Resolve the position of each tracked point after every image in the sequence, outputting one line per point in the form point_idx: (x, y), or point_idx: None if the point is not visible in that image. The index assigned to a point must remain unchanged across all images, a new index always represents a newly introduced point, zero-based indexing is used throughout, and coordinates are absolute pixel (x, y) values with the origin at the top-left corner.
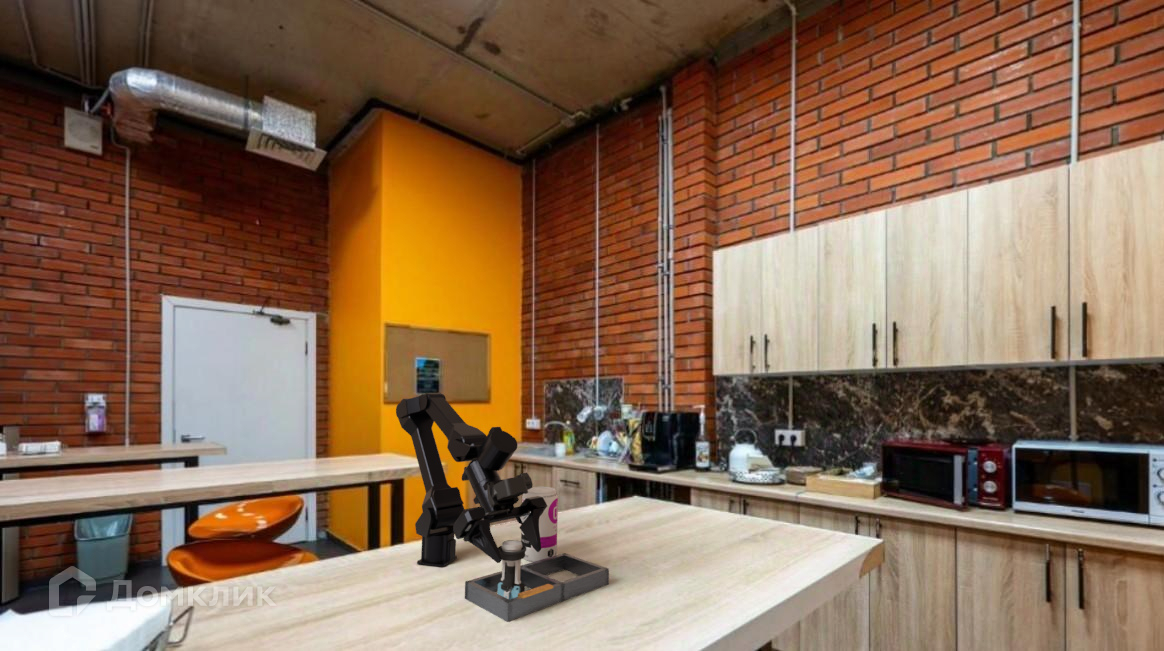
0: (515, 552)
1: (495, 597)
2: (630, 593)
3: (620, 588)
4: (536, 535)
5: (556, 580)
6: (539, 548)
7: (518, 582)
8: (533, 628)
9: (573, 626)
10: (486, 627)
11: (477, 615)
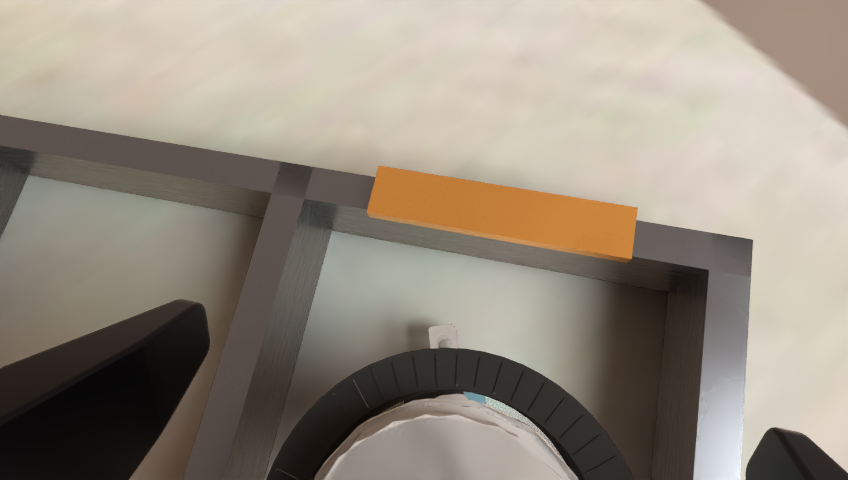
0: (548, 388)
1: (741, 380)
2: (81, 19)
3: (43, 79)
4: (54, 383)
5: (263, 231)
6: (195, 310)
7: (466, 397)
8: (661, 124)
9: (523, 12)
10: (834, 311)
11: None
